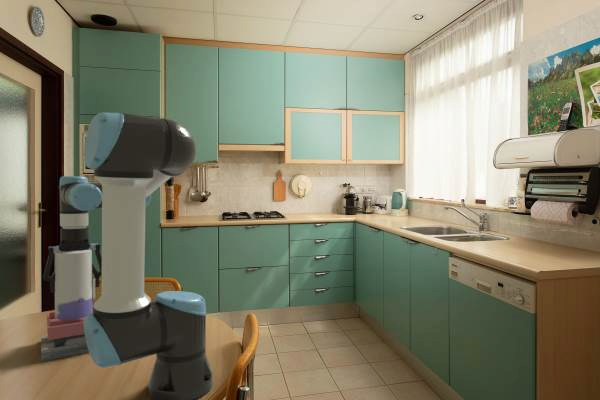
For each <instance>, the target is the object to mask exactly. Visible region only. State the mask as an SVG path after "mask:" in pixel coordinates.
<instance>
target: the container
mask: <svg viewBox="0 0 600 400" xmlns="http://www.w3.org/2000/svg"><path fill="white" fill-rule="evenodd" d="M53 260H54V263H53V264H54V266H53V267H54V270H53V272H55V287H56V304H55V303H54V312H55V318H56V319H59V320H74V319H80V318H84V317H85V316H86V315H89V314H91V313H92V312H93V306H94V304H93V299H92V276H93V272H92V264H93V250H92V248H89V249H88V250H83V251H79V250H77V251H69V252H67V251H60V250H57V252H56V253H54V258H53Z"/></svg>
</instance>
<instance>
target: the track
mask: <svg viewBox="0 0 600 400" xmlns="http://www.w3.org/2000/svg"><path fill="white" fill-rule="evenodd" d="M40 343H41V344H40V345H41V347H40V349H41V350H40V353H41V355H40V356H41V357H40V359H41V363H43V362H44V363H45V362H48V361H49V362H50V361H54V360H59V359H63V358H64V357H65V358H69V357H73V356H79V355H85V354H90V353H89V350H88V347H87V343H86V339H85V334H81V335H75V336H70V337H66V343H65V344H64V345H62V346H57V345H55V343H54V339H53V340H48V335H47V336H41V337H40Z"/></svg>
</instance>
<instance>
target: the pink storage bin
mask: <svg viewBox="0 0 600 400" xmlns="http://www.w3.org/2000/svg"><path fill="white" fill-rule="evenodd" d="M93 312H94V305H93ZM93 312H92V314H93ZM84 318H85V317H84ZM84 318H80V319H74V320H59V319H56V318H55V311H48V312H47V313H46V328H47V333H46V334H47V336H48V340H53V339H54V343H55V345H57V346H62V345H64V344H65V343H66V337H70V336H75V335H81V334H85V333H84Z"/></svg>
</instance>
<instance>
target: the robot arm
mask: <svg viewBox="0 0 600 400" xmlns="http://www.w3.org/2000/svg"><path fill="white" fill-rule="evenodd" d="M83 147H84V148H83V156H84V164H85V166H86V167H87V168H88V169H91V170H93V176H94V177H93V178H94V179H95V180H96V181H97V182H96V183H95V182H94V183H93V182H91V183H90V182H89V179H88V177H86V176H81V175H79V176H78V175H77V176H75V175H74V176H72V175H71V176H70V175H69V176H68V175H65V176H64V175H63V176H61V177H60V178H59V186H58V190H59V226H60V227H61V228H60V229H59V230H60V231H59V233H60V234H59V235H60V236H59V238H60V239H59V240H60V243H59V244H58V245H56V246H51V245H50V246H48V256H47V257H48V258H47V261H46V264H45V269H44V273H43V276H42V280H43V281H44V282H46V281H47V282H49V284H50V286H49V289H50V290H49V291H50V293H51V294H52V293H54V305H55V304H56V287H55V272H54V271H53V272H52V275H51V276H50V274H51V268H52V265H53V260H54V253H56V252H57V250H60V251H67V252H69V251H77V250H79V251H83V250H88V249H92V252H94V255H95V258H96V261H97V264H98V269H99V271H97V269H96V267H95V266H94V264H93V263H92V300H95V301H93V302H94V303H93V306H94V312H93V314H92V313H91V314H89V315H86V316H85V318H84V333H85V339H86V343H87V347H88V350H89V353H88V354H89V356H90V358H91V360H92V361H93V363H94V364H95V366H96V367H98V368H100V369H104V368H110V367H113V366H114V367H115V366H122V364H126V363H128V362H133V361H136V360H139V359H143V358H144V359H145V358H147V357H151V356H154V355H156V356H155V357H156V359H155V361H154V364H153V367H152V371H151V373H150V374H151V375H150V376H149V382H148V395H149V396H150V397H151V398H152V399H153V400H196V399H199V398H200V397H202V396H204V395H206V394H207V393H208V392H209V391H210V390H212V388H213V385H214V379H213V378H214V374H213V370H212V369H211V365H210V362H209V359H208V356H207V350H206V349H207V347H206V346H207V343H206V341H207V340H206V339H207V337H206V335H207V334H206V333H207V313H208V312H207V307H206V300H205V298H204V297H203V296H202V295H200V294H198V293H195V292H192V291H191V292H190V291H183V290H182V291H180V290H170V291H169V290H168V291H162V292H160V293H157V294H156V296H155V301H153V302H152V299H151V297H150V296H149V295H148V294H147V293H145V265H146V264H145V260H146V259H145V258H146V257H145V255H146V252H145V250H146V248H145V247H146V207H149V205H150V202H151V200H152V194H153V193H154V192H155V191H156V190H157V189H159V188H160V187H161V186H162V185H165V183H166V182H167V181H169V180H170V179H171V178H172V177H178V176H181V175H183V174H184V173H185V172H186V171H188V170H189V169H190V167H191V166H192V165H193V164H194V161H195V158H196V154H197V149H196V143H195V140H194V138H193V136H192V134H191V133H190V131H189V130H188V129H187V128H186V127H185V126H183V125H182V124H181V123H180V122H177V121H175V120H172V119H169V118H159V117H153V116H152V117H151V116H146V115H137V114H130V113H124V112H99V113H97V114H96V115H94V117H93V118H92V119H91V121H90V123H89V125H88V129H87V131H86V135H85V140H84V146H83ZM92 210H101V244H100V243H98V242H96V243H90V239H89V238H90V236H89V235H90V233H89V232H90V231H89V227H88V226H89V222H90V221H89V212H90V211H92ZM93 275H94V276H93ZM100 278H101V295H100V296H99V298H97V299H96V288H99V287H100Z"/></svg>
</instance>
